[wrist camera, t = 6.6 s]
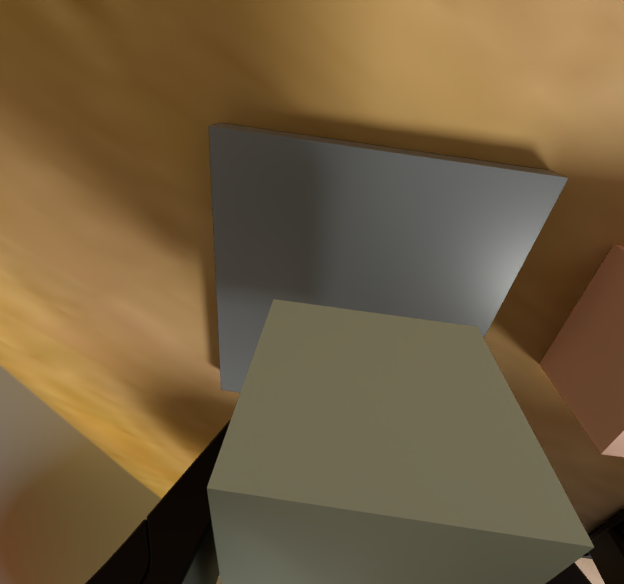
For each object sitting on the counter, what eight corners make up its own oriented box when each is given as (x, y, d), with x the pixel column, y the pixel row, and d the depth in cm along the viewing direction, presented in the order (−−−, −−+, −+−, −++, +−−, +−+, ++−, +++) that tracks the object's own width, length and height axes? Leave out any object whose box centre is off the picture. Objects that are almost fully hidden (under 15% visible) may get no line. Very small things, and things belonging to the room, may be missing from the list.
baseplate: (550, 170, 11) (568, 177, 10) (433, 407, 17) (438, 423, 16) (219, 122, 11) (208, 126, 10) (227, 374, 17) (221, 389, 17)
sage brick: (477, 326, 8) (594, 547, 4) (412, 463, 11) (444, 657, 7) (273, 299, 8) (206, 488, 4) (267, 442, 11) (226, 622, 8)
